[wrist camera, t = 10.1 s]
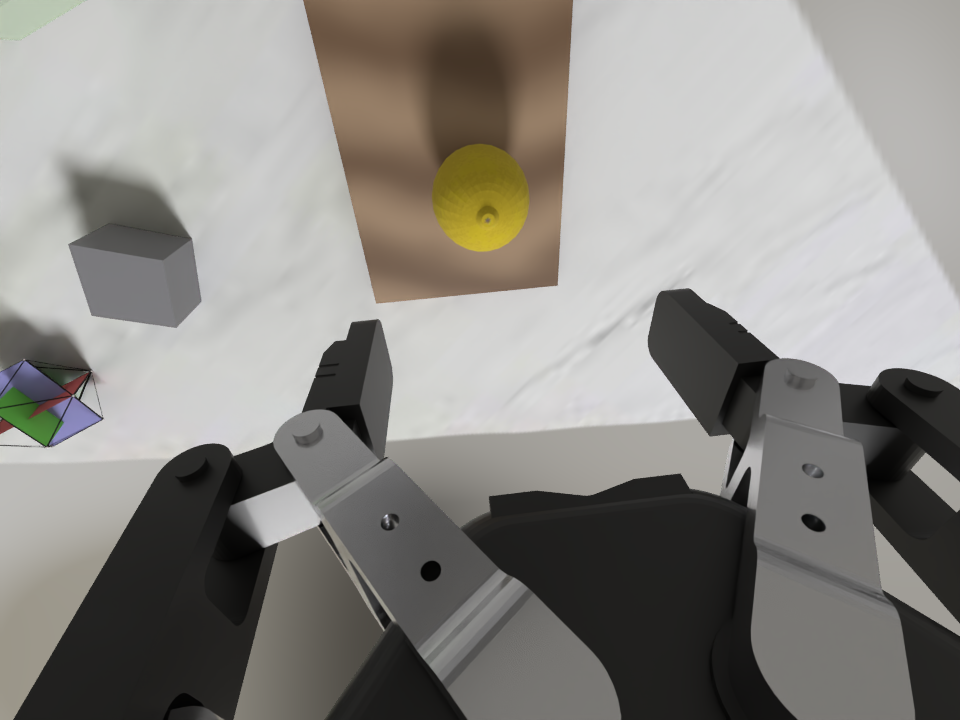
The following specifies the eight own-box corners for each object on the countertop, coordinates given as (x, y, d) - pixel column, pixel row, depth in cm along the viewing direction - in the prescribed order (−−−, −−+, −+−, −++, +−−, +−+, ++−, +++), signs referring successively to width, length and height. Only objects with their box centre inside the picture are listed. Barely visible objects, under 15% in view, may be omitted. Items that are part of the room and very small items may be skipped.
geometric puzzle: (62, 341, 30) (-74, 423, 26) (139, 405, 34) (32, 485, 30) (45, 335, 34) (-75, 405, 30) (115, 392, 38) (18, 461, 34)
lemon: (480, 112, 25) (498, 132, 18) (532, 187, 27) (563, 226, 21) (413, 176, 26) (408, 214, 20) (468, 240, 29) (480, 292, 23)
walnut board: (307, -10, 22) (300, -14, 21) (567, -28, 22) (574, -33, 21) (378, 294, 33) (376, 303, 31) (552, 277, 33) (557, 285, 32)
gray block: (110, 222, 28) (68, 244, 25) (192, 238, 29) (162, 260, 26) (127, 288, 31) (91, 315, 27) (202, 300, 32) (176, 327, 28)
